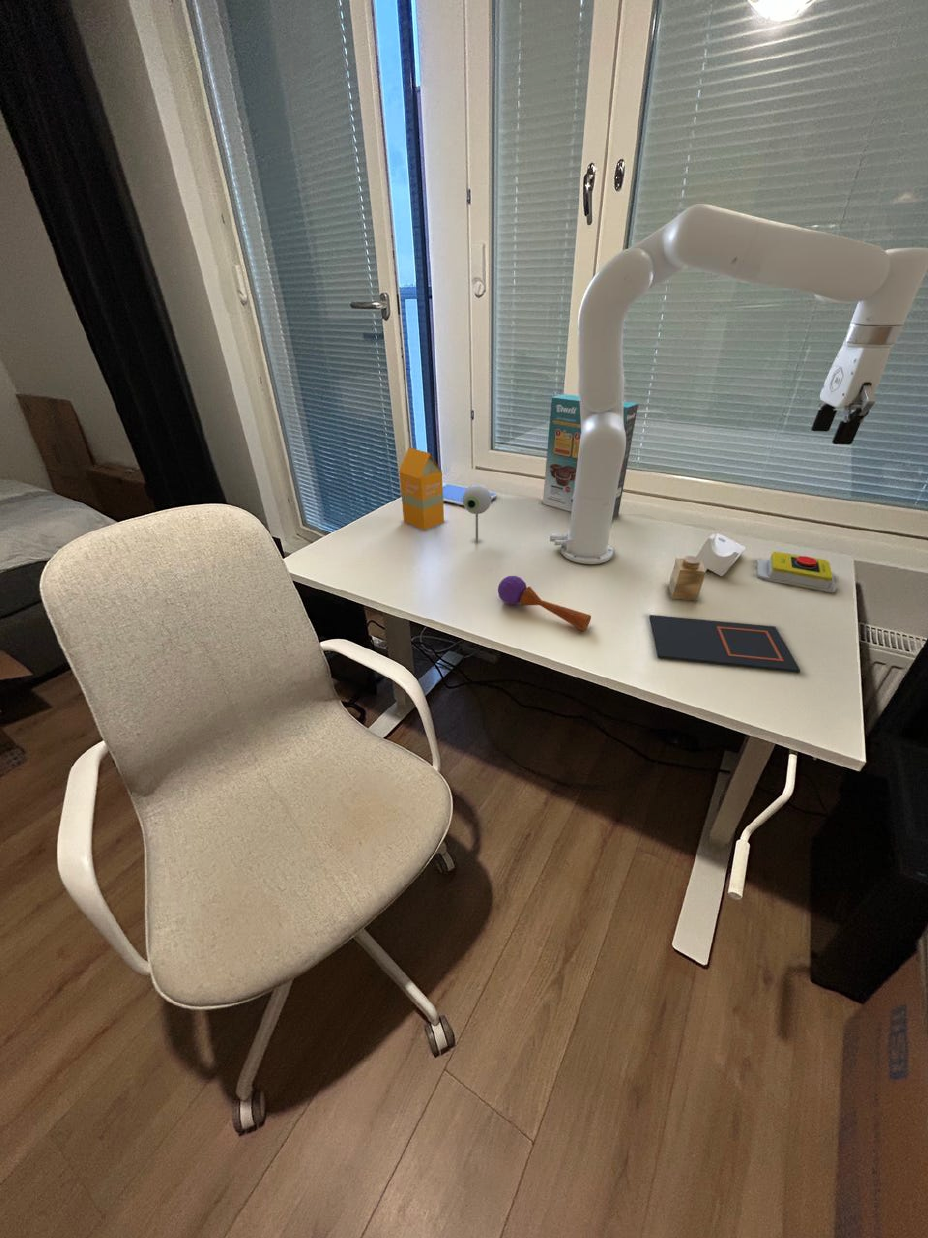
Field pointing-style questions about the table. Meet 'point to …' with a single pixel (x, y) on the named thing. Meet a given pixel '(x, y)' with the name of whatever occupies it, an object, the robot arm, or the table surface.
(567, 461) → the cake mix box
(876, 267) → the robot arm
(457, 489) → the tablet
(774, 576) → the emergency button
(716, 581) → the table surface
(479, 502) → the eyeball on stand
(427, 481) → the orange juice
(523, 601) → the kendama
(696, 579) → the piece
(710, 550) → the bracket
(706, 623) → the desk mat
